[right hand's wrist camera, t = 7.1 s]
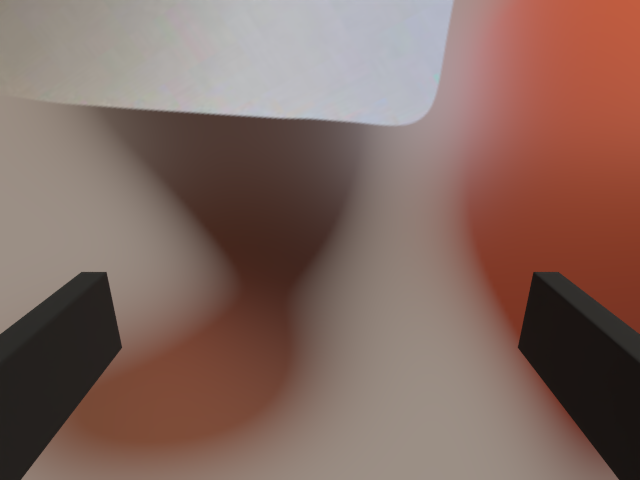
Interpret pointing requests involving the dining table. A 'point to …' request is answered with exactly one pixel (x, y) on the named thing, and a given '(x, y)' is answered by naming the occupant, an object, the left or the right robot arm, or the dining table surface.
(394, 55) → the dining table surface
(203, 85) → the dining table surface
